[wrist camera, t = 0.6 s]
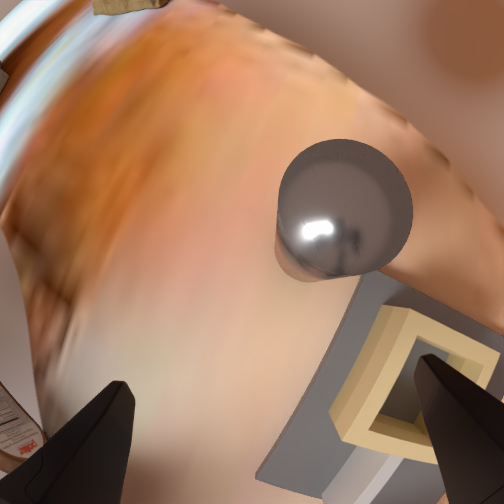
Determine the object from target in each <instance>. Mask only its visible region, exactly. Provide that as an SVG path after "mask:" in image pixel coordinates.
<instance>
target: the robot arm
mask: <svg viewBox="0 0 504 504" xmlns="http://www.w3.org/2000/svg"><path fill="white" fill-rule="evenodd" d="M414 382H415V386H416V390H417V394H418V398H419V403H420V407H421V411H422V415H423V419H424V423H425V426H426V429H427V432H428V434H429V437H430V440H431V443H432V447H433V450H434V453H435V456H436V459H437V462H438V466H439V469H440V472H441V476H442V479H443V483H444V486H445V490H446V494H447V497H448V501H449V504H504V403H503V402H501V401H500V400H498V399H497V398H496V397H494V396H493V395H491V394H490V393H489V392H487V391H486V390H484V389H483V388H482V387H480V386H479V385H477V384H476V383H475V382H473V381H472V380H470V379H469V378H467V377H466V376H465V375H463V374H462V373H460V372H459V371H457V370H456V369H455V368H453V367H452V366H450V365H449V364H447V363H446V362H445V361H443V360H442V359H440V358H439V357H437V356H436V355H435V354H432V353H429V354H424V355H421V356H420V357H419V359H418V362H417V365H416V368H415V371H414ZM134 412H135V397H134V395H133V394H132V392H131V390H130V388H129V387H128V385H127V383H126V382H125V381H112V382H111V383H110V384H109V385H107V386H106V387H105V388H104V389H103V390H102V391H101V392H100V393H99V394H98V395H97V396H96V397H94V398H93V399H92V400H91V401H90V402H89V403H88V404H87V405H86V406H85V407H84V408H83V409H82V410H80V411H79V412H78V413H77V414H76V415H75V416H74V417H73V418H72V419H71V420H70V421H69V422H67V423H66V424H65V425H64V426H63V427H62V428H61V429H60V430H59V431H58V432H57V433H56V434H54V435H53V436H52V437H51V438H50V439H49V440H48V441H47V442H46V443H45V444H44V445H43V447H40V448H39V449H38V450H37V451H36V452H35V453H34V454H33V455H31V456H30V457H29V458H28V459H27V460H26V461H24V462H23V463H22V464H21V465H19V466H18V467H17V468H15V469H14V470H13V471H11V472H10V473H9V474H7V475H6V476H5V477H3V478H2V479H1V480H0V504H120V500H121V494H122V488H123V483H124V478H125V472H126V467H127V462H128V457H129V452H130V447H131V441H132V431H133V421H134Z"/></svg>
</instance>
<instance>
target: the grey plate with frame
mask: <svg viewBox="0 0 504 504" xmlns="http://www.w3.org/2000/svg"><path fill="white" fill-rule="evenodd" d="M429 353H432V354H435V355H436V356H437V357H439V358H440V359H442V360H443V361H445V362H446V363H447V364H449V365H450V366H452V367H453V368H455V369H456V370H457V371H459V372H460V373H462V374H463V375H465V376H466V377H467V378H469V379H470V380H472V381H473V382H475V383H476V384H477V385H479V386H480V387H482V388H483V389H484V390H486V391H487V392H489V393H490V394H491V395H493V396H494V397H496V398H497V399H498V400H500V401H501V400H502V398H503V396H504V336H502V335H500V334H498V333H496V332H495V331H493V330H491V329H489V328H487V327H485V326H484V325H482V324H480V323H478V322H476V321H474V320H472V319H471V318H469V317H467V316H465V315H463V314H461V313H459V312H458V311H456V310H454V309H452V308H450V307H448V306H446V305H444V304H442V303H440V302H439V301H437V300H435V299H433V298H431V297H429V296H427V295H425V294H423V293H421V292H419V291H417V290H415V289H413V288H411V287H409V286H407V285H405V284H403V283H401V282H399V281H397V280H395V279H393V278H391V277H389V276H387V275H385V274H383V273H381V272H379V271H377V270H376V271H373V272H370V273H366V274H362V275H361V278H360V280H359V282H358V285H357V287H356V289H355V292H354V294H353V296H352V298H351V301H350V303H349V305H348V307H347V309H346V312H345V314H344V316H343V318H342V320H341V322H340V325H339V327H338V329H337V331H336V333H335V335H334V337H333V339H332V341H331V343H330V345H329V347H328V349H327V351H326V353H325V355H324V357H323V359H322V361H321V363H320V365H319V367H318V369H317V371H316V373H315V375H314V376H313V378H312V380H311V382H310V384H309V386H308V388H307V389H306V391H305V393H304V395H303V397H302V398H301V400H300V402H299V404H298V405H297V407H296V409H295V411H294V412H293V414H292V416H291V418H290V419H289V421H288V423H287V424H286V426H285V428H284V429H283V431H282V433H281V434H280V436H279V438H278V439H277V441H276V442H275V444H274V446H273V447H272V449H271V450H270V452H269V453H268V455H267V457H266V458H265V460H264V461H263V463H262V464H261V466H260V467H259V469H258V470H257V472H256V476H255V479H257V480H259V481H262V482H265V483H268V484H271V485H274V486H277V487H280V488H283V489H287V490H290V491H293V492H297V493H300V494H304V495H308V496H311V497H315V498H319V499H323V503H324V504H436V503H437V502H438V501H439V499H440V498H441V497H442V496H443V494H444V493H445V492H446V490H445V486H444V483H443V479H442V476H441V472H440V469H439V466H438V462H437V459H436V456H435V453H434V450H433V447H432V443H431V440H430V437H429V434H428V432H427V429H426V426H425V423H424V419H423V415H422V411H421V407H420V403H419V398H418V394H417V390H416V386H415V382H414V371H415V368H416V365H417V362H418V359H419V357H420V356H421V355H424V354H429Z"/></svg>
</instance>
